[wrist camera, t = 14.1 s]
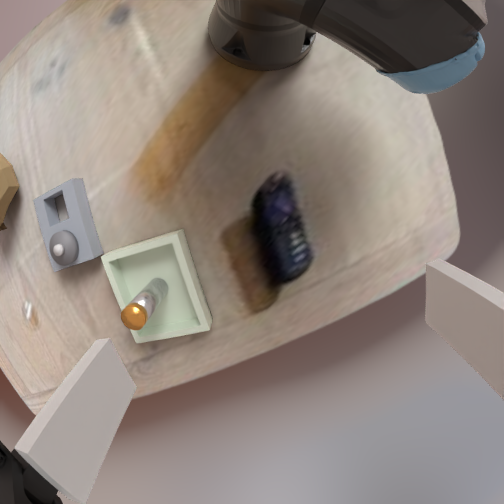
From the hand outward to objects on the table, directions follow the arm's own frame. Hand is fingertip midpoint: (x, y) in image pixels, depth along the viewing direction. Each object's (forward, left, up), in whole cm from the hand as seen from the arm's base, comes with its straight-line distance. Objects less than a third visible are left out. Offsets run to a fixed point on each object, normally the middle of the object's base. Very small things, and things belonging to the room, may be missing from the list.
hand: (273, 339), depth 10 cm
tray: (+5, -16, -28) cm, 33 cm away
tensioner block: (-8, -28, -28) cm, 40 cm away
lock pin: (+5, -16, -28) cm, 32 cm away
